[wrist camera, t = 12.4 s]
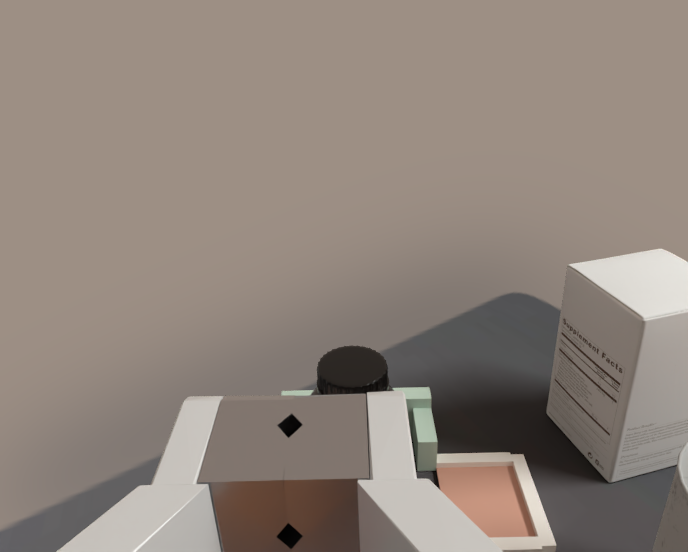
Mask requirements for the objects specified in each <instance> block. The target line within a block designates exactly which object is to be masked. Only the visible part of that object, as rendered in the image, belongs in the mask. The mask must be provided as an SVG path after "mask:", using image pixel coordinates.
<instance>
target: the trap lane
mask: <svg viewBox="0 0 688 552" xmlns="http://www.w3.org/2000/svg"><path fill="white" fill-rule="evenodd" d="M392 389H393V390H394V391H401V390H402V391H403V393H404V394H405V398H406V405H407V412H408V419H409V426H410V433H411V436H412V437H413V444H414V451H415V458H416V465H417V471H436V472H437V478H438V483H439V489H440V490H441V491H442V492H443V493H444V494H445V495H446V496H447V497H448V498H449V499H450V500H451V501H452V502H453V503H454V504H455V505H456V506H457V507H458V508H459V509H460V510H461V511H462V512H463V513H464V514H465V515H466V516H467V517H468V518H469V519H470V520H471V521H472V522H474V523H475V524H476V525H477V526H478V527H479V528H480V529H481V530H482V531H483V532H484V533H485V534H486V535H487V536H488V537H489V538H490V539H491V540H492V541H493V542H494V543H495V544H496V545H497V546H498V547H499V548H500V549H501V550H502V551H503V552H555V551H556V546H557V545H556V543H555V540H554V537H553V534H552V532H551V529H550V526H549V524H548V521H547V518H546V515H545V513H544V510H543V507H542V504H541V502H540V499H539V496H538V493H537V491H536V488H535V485H534V482H533V480H532V477H531V474H530V471H529V469H528V466H527V463H526V460H525V458H524V455H523V454H510V452H496V453H455V454H437V444H438V441H437V436H436V431H435V426H434V421H433V415H432V410H431V394H430V389H429V387H416V388H392ZM313 391H314V390H303V391H282V394H281V395H295V396H305V395H311V393H312V392H313Z"/></svg>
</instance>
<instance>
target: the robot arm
mask: <svg viewBox="0 0 688 552" xmlns="http://www.w3.org/2000/svg"><path fill="white" fill-rule="evenodd" d="M57 552H503V551H502V550H501V549H500V548H499V547H498V546H497V545H496V544H495V543H494V542H493V541H492V540H491V539H490V538H489V537H488V536H487V535H486V534H485V533H484V532H483V531H482V530H481V529H480V528H479V527H478V526H477V525H476V524H475V523H474V522H472V521H471V520H470V519H469V518H468V517H467V516H466V515H465V514H464V513H463V512H462V511H461V510H460V509H459V508H458V507H457V506H456V505H455V504H454V503H453V502H452V501H451V500H450V499H449V498H448V497H447V496H446V495H445V494H444V493H443V492H442V491H441V490H440V489H439V488H438V487H437V486H436V485H434V484H433V483H432V482H431V481H430V480H429V479H417V476H416V469H415V462H414V455H413V448H412V440H411V433H410V426H409V419H408V412H407V405H406V398H405V394H404V393H403V391H402V390H401V391H383V392H367V397H366V394H336V395H305V396H295V395H278V396H224V397H222V396H203V397H202V396H201V397H188V398H187V399H186V400H185V401H184V402H183V403H182V405H181V407H180V410H179V413H178V415H177V418H176V420H175V423H174V426H173V428H172V431H171V434H170V436H169V439H168V441H167V444H166V447H165V449H164V452H163V454H162V457H161V460H160V462H159V465H158V467H157V470H156V473H155V475H154V478H153V480H152V483H151V485H145V486H138V487H137V488H136V489H134V490H133V491H132V492H131V493H129V494H128V495H127V496H126V497H124V498H123V499H122V500H121V501H119V502H118V503H117V504H116V505H114V506H113V507H112V508H111V509H109V510H108V511H107V512H106V513H104V514H103V515H102V516H101V517H99V518H98V519H97V520H96V521H94V522H93V523H92V524H91V525H89V526H88V527H87V528H86V529H84V530H83V531H82V532H81V533H79V534H78V535H77V536H76V537H74V538H73V539H72V540H71V541H69V542H68V543H67V544H66V545H64V546H63V547H62V548H61V549H59V550H58V551H57Z"/></svg>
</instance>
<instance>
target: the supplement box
mask: <svg viewBox="0 0 688 552" xmlns="http://www.w3.org/2000/svg"><path fill="white" fill-rule="evenodd" d="M546 414H547V415H548V416H549V417H550V418H551V419H552V420H553V422H554V423H555V424H556V425H557V426H558V427H559V428H560V429H561V430H562V432H563V433H564V434H565V435H566V436H567V437H568V438H569V439H570V441H571V442H572V443H573V444H574V445H575V446H576V447H577V448H578V449H579V451H580V452H581V453H582V454H583V455H584V456H585V457H586V458H587V459H588V460H589V462H590V463H591V464H592V465H593V466H594V467H595V468H596V469H597V470H598V471H599V473H600V474H601V475H602V476H603V477H604V478H605V479H606V480H607V481H608V482H610V483H612V482H616V481H619V480H623V479H626V478H630V477H634V476H637V475H641V474H645V473H648V472H652V471H656V470H659V469H663V468H667V467H670V466H674V465H677V461H678V455H679V453H680V451H681V449H682V448H683V446H684V445H685V443H686V442H688V262H686V261H685V260H683V259H681V258H680V257H678V256H676V255H674V254H672V253H670V252H668V251H666V250H663V249H661V248H660V249H655V250H650V251H645V252H639V253H633V254H628V255H622V256H616V257H611V258H605V259H599V260H594V261H588V262H582V263H576V264H569V265H568V266H567V273H566V280H565V287H564V294H563V300H562V308H561V315H560V322H559V328H558V335H557V342H556V349H555V356H554V363H553V370H552V377H551V384H550V391H549V398H548V405H547V411H546Z"/></svg>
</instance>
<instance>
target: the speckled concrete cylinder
mask: <svg viewBox="0 0 688 552" xmlns="http://www.w3.org/2000/svg"><path fill="white" fill-rule="evenodd" d="M652 552H688V442H686V443H685V445H684V446H683V448H682V449H681V451H680V453H679V455H678V461H677V468H676V472H675V476H674V479H673V483H672V486H671V489H670V493H669V496H668V499H667V503H666V506H665V510H664V513H663V516H662V520H661V523H660V526H659V530H658V533H657V537H656V540H655V543H654V547H653V550H652Z"/></svg>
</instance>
